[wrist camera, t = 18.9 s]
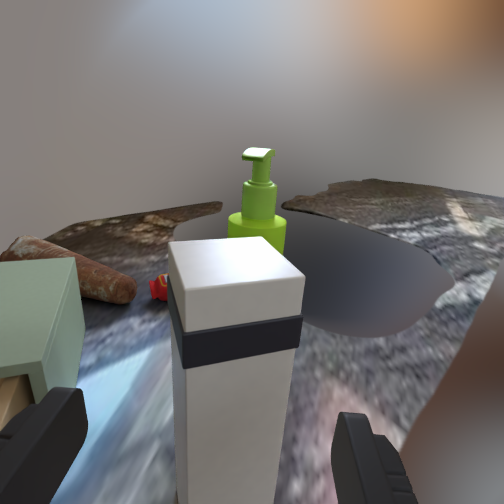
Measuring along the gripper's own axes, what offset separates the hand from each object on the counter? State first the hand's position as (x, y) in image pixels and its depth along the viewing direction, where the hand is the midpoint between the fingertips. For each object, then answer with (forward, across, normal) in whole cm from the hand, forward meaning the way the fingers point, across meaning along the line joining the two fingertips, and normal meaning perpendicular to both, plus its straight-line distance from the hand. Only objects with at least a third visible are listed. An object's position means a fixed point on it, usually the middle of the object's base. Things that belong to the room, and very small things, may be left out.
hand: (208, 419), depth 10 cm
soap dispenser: (+24, -1, +14) cm, 27 cm away
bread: (+30, +23, +14) cm, 40 cm away
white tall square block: (+5, 0, +14) cm, 14 cm away
